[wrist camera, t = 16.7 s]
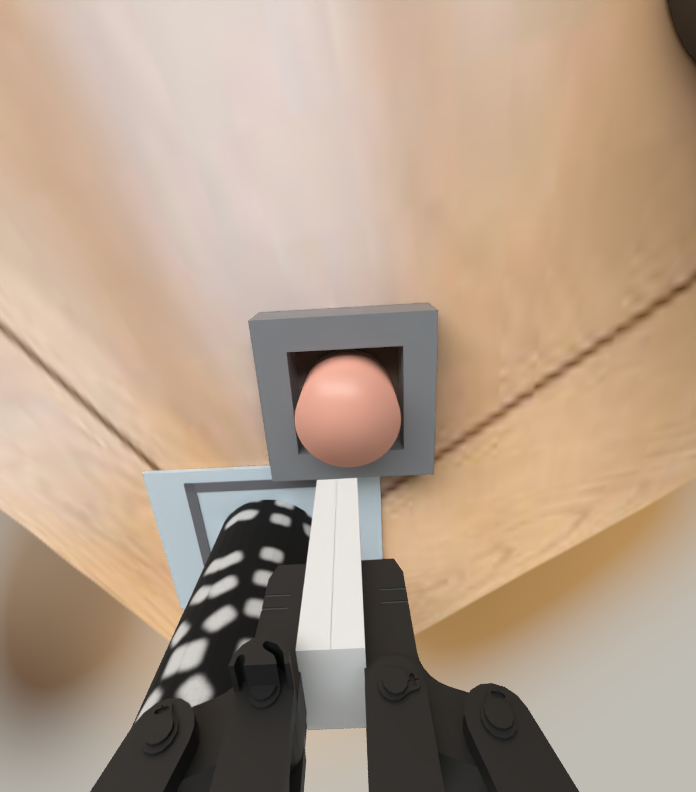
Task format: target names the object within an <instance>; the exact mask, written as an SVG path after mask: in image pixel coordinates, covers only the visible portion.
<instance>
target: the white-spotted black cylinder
mask: <svg viewBox="0 0 696 792" xmlns="http://www.w3.org/2000/svg"><path fill="white" fill-rule="evenodd" d="M311 524H312V517H311V516H310V515H309V514H307V513H306V512H305V511H304V510H302V509H300V508H299V507H297V506H295V505H293V504H290V503H287V502H284V501H279V500H257V501H253V502H249V503H246V504H244V505H242V506H240V507H238V508H237V509H235V510H234V511H233V512H232V513H231V514H230V515H229V516H228V517H227V519H226V520H225V522H224V524H223V526H222V528H221V531H220V533H219V535H218V537H217V539H216V542H215V544H214V546H213V548H212V550H211V553H210V555H209V557H208V559H207V562H206V564H205V566H204V568H203V570H202V573H201V575H200V577H199V579H198V581H197V584H196V586H195V588H194V590H193V593H192V595H191V597H190V599H189V601H188V604H187V606H186V608H185V610H184V613H183V615H182V617H181V619H180V621H179V624H178V626H177V628H176V630H175V632H174V635H173V637H172V639H171V641H170V644H169V646H168V648H167V650H166V652H165V655H164V657H163V659H162V661H161V663H160V666H159V668H158V670H157V672H156V675H155V677H154V679H153V681H152V683H151V686H150V688H149V690H148V692H147V695H146V697H145V699H144V701H143V704H142V706H141V708H140V710H139V712H138V715H137V717H136V719H135V721H134V723H133V725H134V724H135V723H136V721H137V720H138V719H139V718H140V717H141V715H142V714H143V713H144V712H145V711H147V710H148V709H149V708H151V707H152V706H153V705H155V704H156V703H158V702H161V701H164V700H166V699H169V698H181V699H183V700H185V701H186V702H188V703H190V705H191V707H193V706H196V705H198V704H201V703H204V702H206V701H209V700H211V699H214V698H216V697H218V696H220V695H222V694H224V693H226V692H227V691H228V690H230V689H231V688H232V687H233V685H232V681H231V677H230V673H229V669H228V665H229V663H230V661H231V659H232V656H233V654H234V653H235V652H236V651H237V650H238V649H239V648H240V647H241V646H242V645H243V644H244V643H246V642H248V641H250V640H251V639H253V638H255V635H256V631H257V627H258V622H259V618H260V614H261V611H262V605H263V601H264V598H265V592H266V588H267V584H268V580H269V578H270V576H271V575H272V574H273V572H274V571H275V569H276V568H277V567H278V565H293V564H307V556H308V548H309V540H310V532H311ZM306 729H307V723H306V728H305V740H304V746H305V741H306Z"/></svg>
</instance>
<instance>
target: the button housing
mask: <svg viewBox="0 0 696 792" xmlns="http://www.w3.org/2000/svg"><path fill="white" fill-rule="evenodd" d="M248 322H249V329H250V335H251V342H252V349H253V355H254V362H255V369H256V375H257V382H258V389H259V395H260V402H261V409H262V415H263V422H264V429H265V435H266V442H267V449H268V455H269V462H270V469H271V475H272V482H274V481H296V480H318V479H339V478H361V477H383V476H405V475H427V474H434V447H435V409H436V371H437V333H438V310H437V309H436V308H435V307H433V306H432V305H431V304H429V303H415V304H398V305H381V306H363V307H346V308H328V309H311V310H293V311H276V312H259V313H258V314H257V315H255V316H254V317H253V318H251V319H250V320H249V321H248ZM392 346H398V404H399V408H400V413H401V426H400V430H399V433H398V436H397V438H396V440H395V442H394V444H393V445H392V447H391V448H390V449H389V450H388V451H387V452H386V453H385V454H384V455H383V456H382V457H380V458H378V459H377V460H375V461H373V462H371V463H369V464H366V465H362V466H358V467H338V466H334V465H330V464H327V463H325V462H323V461H321V460H319V459H317V458H316V457H314V456H313V455H312V454H311V453H310V452H309V451H308V450H307V449H306V448H305V447H304V446H303V444H302V443H301V441H300V439H299V437H298V434H297V431H296V427H295V410H296V406H297V403H298V400H299V388H298V379H297V370H296V361H295V352H301V351H319V350H337V349H356V348H374V347H392Z"/></svg>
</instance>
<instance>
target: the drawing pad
mask: <svg viewBox="0 0 696 792" xmlns="http://www.w3.org/2000/svg"><path fill="white" fill-rule="evenodd" d="M142 475H143V478H144V482H145V485H146V489H147V492H148V496H149V499H150V503H151V506H152V509H153V513H154V516H155V520H156V523H157V527H158V530H159V534H160V537H161V540H162V544H163V547H164V551H165V554H166V558H167V561H168V565H169V568H170V571H171V575H172V578H173V582H174V585H175V589H176V592H177V596H178V599H179V603H180V606H181V609H185V608H186V606H187V604H188V601H189V599H190V597H191V595H192V593H193V590H194V588H195V586H196V584H197V581H198V579H199V577H200V575H201V573H202V570H203V568H204V566H205V564H206V562H207V559H208V557H209V555H210V553H211V550H212V548H213V546H214V544H215V542H216V539H217V537H218V535H219V533H220V531H221V528H222V526H223V524H224V522H225V520H226V519H227V517H228V516H229V515H230V514H231V513H232V512H233V511H234V510H235V509H237V508H238V507H240V506H242V505H244V504H246V503H249V502H253V501H257V500H279V501H284V502H287V503H290V504H293V505H295V506H297V507H299V508H300V509H302V510H304V511H305V512H306V513H307V514H309V515H310V516H311V517H312V516H313V508H314V500H315V492H316V484H317V480H296V481H274V482H272V475H271V469H270V465H265V466H244V467H222V468H201V469H180V470H158V471H144V473H143V474H142ZM339 479H346V478H339ZM318 480H327V479H318ZM357 486H358V503H359V521H360V539H361V559H362V560H376V559H383V555H382V523H381V492H380V477H361V478H357Z"/></svg>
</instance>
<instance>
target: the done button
mask: <svg viewBox="0 0 696 792" xmlns="http://www.w3.org/2000/svg"><path fill="white" fill-rule="evenodd" d="M400 426H401V413H400V408H399V404H398V401H397V398H396V394H395V391H394V388H393V385H392V381H391V378H390V376H389V374H388V372H387V370H386V369H385V367H384V366H383V365H382V364H381V363H380V362H379V361H378V360H377V359H376V358H374V357H373V356H371V355H369V354H367V353H364V352H361V351H357V350H339V351H335V352H332V353H330V354H327V355H325V356H324V357H322V358H321V359H319V360H318V361H317V362H316V363H315V364H314V365H313V366H312V368H311V369H310V371H309V372H308V374H307V377H306V379H305V382H304V385H303V388H302V391H301V394H300V397H299V400H298V403H297V406H296V410H295V427H296V431H297V434H298V437H299V439H300V441H301V443H302V444H303V446H304V447H305V448H306V449H307V450H308V451H309V452H310V453H311V454H312V455H313V456H314V457H316V458H317V459H319V460H321V461H323V462H325V463H327V464H330V465H334V466H338V467H358V466H362V465H366V464H369V463H371V462H373V461H375V460H377V459H378V458H380V457H382V456H383V455H384V454H385V453H386V452H387V451H388V450H389V449H390V448H391V447H392V445H393V444H394V442H395V440H396V438H397V436H398V433H399V430H400Z"/></svg>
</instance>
